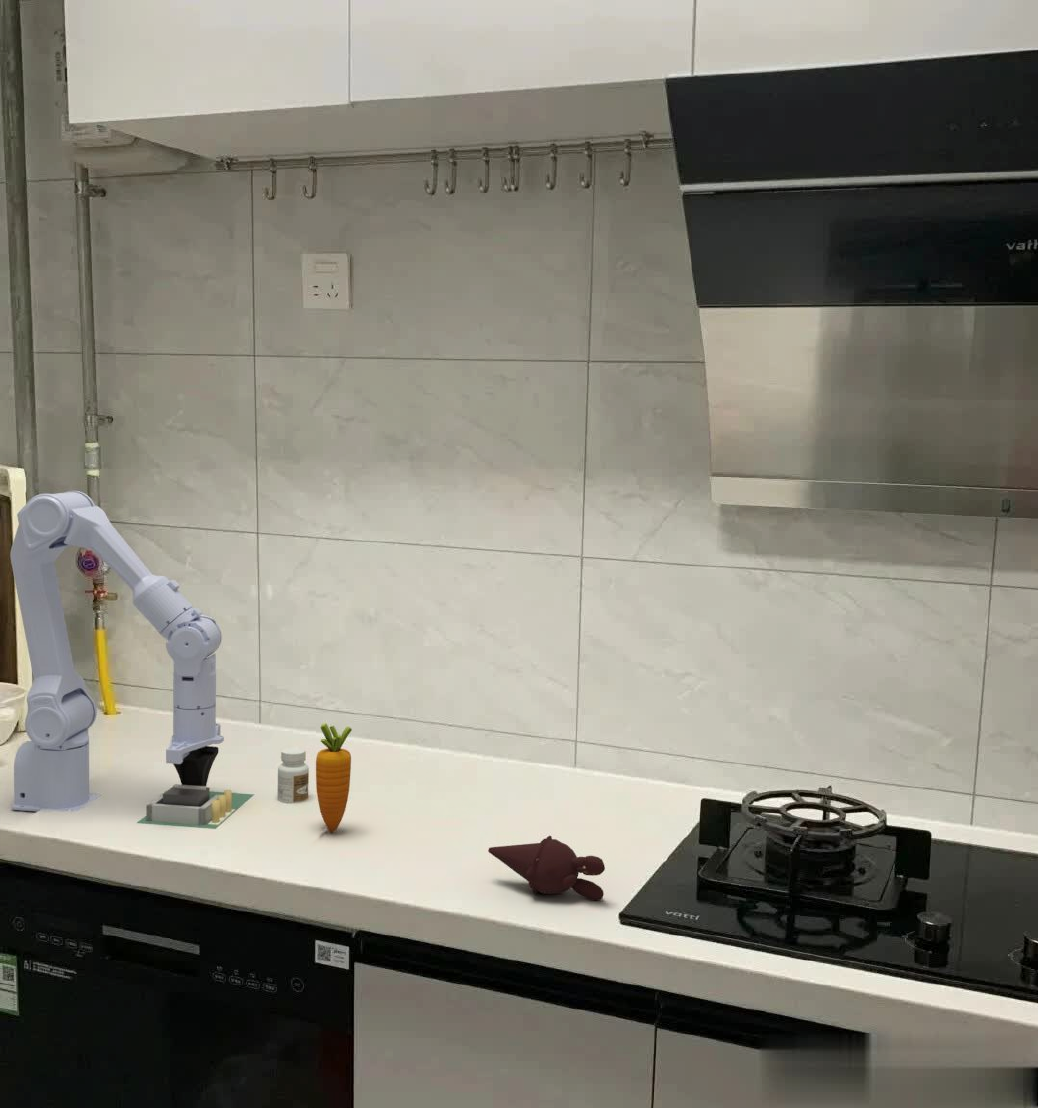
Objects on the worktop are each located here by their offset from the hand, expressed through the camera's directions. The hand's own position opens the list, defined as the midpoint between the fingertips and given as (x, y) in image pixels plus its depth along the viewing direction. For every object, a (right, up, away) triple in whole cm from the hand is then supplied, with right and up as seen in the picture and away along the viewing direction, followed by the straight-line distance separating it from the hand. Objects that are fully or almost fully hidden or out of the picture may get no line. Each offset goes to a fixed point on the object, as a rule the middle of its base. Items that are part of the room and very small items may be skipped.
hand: (194, 800), depth 163 cm
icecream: (+49, -6, -24) cm, 55 cm away
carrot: (+20, -3, -6) cm, 21 cm away
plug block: (0, -1, -3) cm, 3 cm away
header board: (0, -2, 0) cm, 2 cm away
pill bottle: (+13, -2, +6) cm, 14 cm away
